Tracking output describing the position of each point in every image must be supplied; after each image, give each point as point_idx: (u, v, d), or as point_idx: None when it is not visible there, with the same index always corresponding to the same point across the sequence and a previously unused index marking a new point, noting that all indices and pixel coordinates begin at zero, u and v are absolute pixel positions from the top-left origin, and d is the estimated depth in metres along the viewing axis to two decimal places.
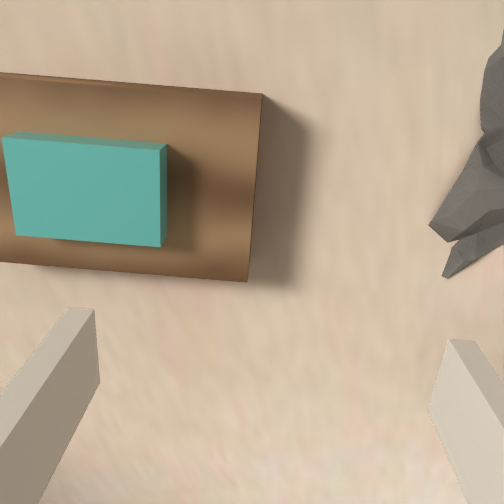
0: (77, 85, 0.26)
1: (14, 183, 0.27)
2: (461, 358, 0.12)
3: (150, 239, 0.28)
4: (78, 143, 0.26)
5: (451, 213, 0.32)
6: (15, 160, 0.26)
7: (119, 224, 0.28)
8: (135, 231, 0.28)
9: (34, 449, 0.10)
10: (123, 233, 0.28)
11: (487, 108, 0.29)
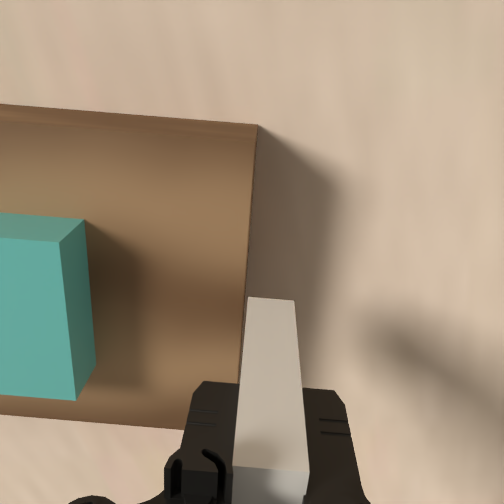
0: None
1: None
2: (271, 314, 0.14)
3: (56, 388, 0.16)
4: None
5: None
6: None
7: (0, 365, 0.15)
8: (28, 376, 0.16)
9: None
10: (8, 378, 0.16)
11: None
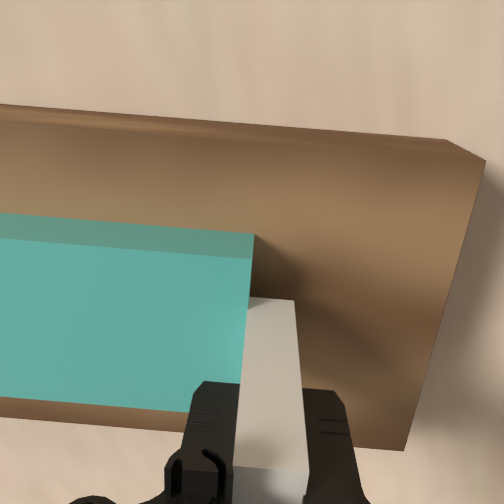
0: (133, 134, 0.14)
1: None
2: (271, 314, 0.14)
3: None
4: (93, 245, 0.13)
5: None
6: None
7: (167, 381, 0.15)
8: None
9: None
10: (173, 394, 0.15)
11: None
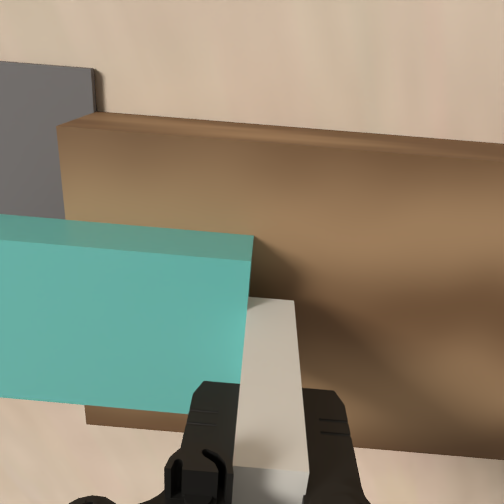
0: (328, 150, 0.14)
1: None
2: (271, 314, 0.14)
3: None
4: (93, 246, 0.13)
5: None
6: None
7: (166, 382, 0.15)
8: None
9: None
10: (172, 396, 0.15)
11: None
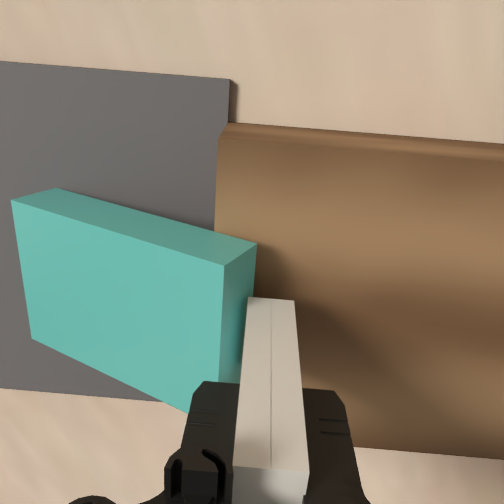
0: (490, 163, 0.14)
1: (27, 268, 0.17)
2: (271, 314, 0.14)
3: None
4: (103, 227, 0.15)
5: None
6: (27, 236, 0.17)
7: (156, 369, 0.16)
8: (178, 388, 0.16)
9: None
10: (161, 384, 0.16)
11: None
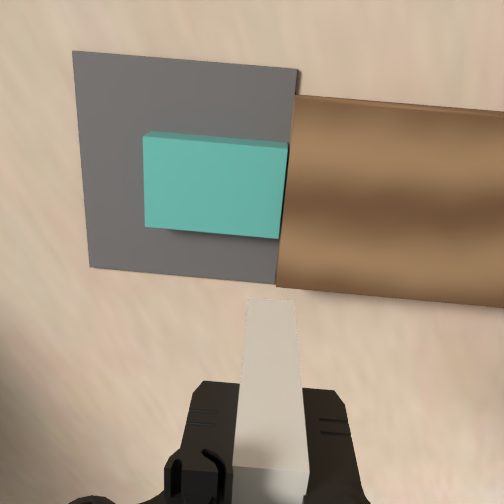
0: (443, 113, 0.26)
1: (149, 178, 0.29)
2: (271, 314, 0.14)
3: (269, 231, 0.30)
4: (212, 142, 0.28)
5: None
6: (153, 157, 0.29)
7: (242, 217, 0.30)
8: (256, 224, 0.30)
9: None
10: (245, 225, 0.30)
11: None
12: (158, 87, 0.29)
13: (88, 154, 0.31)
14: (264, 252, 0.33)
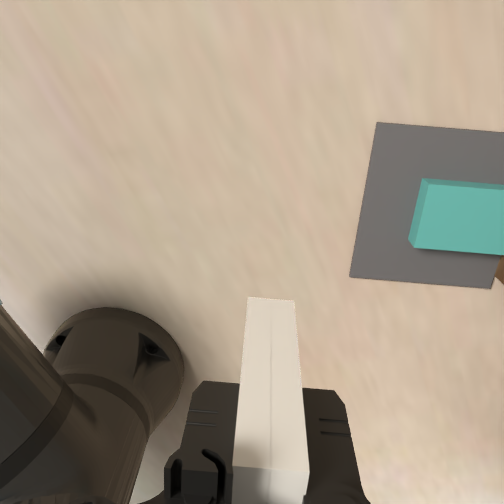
0: None
1: (426, 213, 0.40)
2: (271, 314, 0.14)
3: None
4: (479, 188, 0.39)
5: None
6: (433, 198, 0.40)
7: (489, 240, 0.41)
8: (498, 245, 0.41)
9: None
10: (489, 246, 0.41)
11: None
12: (434, 147, 0.40)
13: (370, 194, 0.42)
14: (487, 265, 0.44)
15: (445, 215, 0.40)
